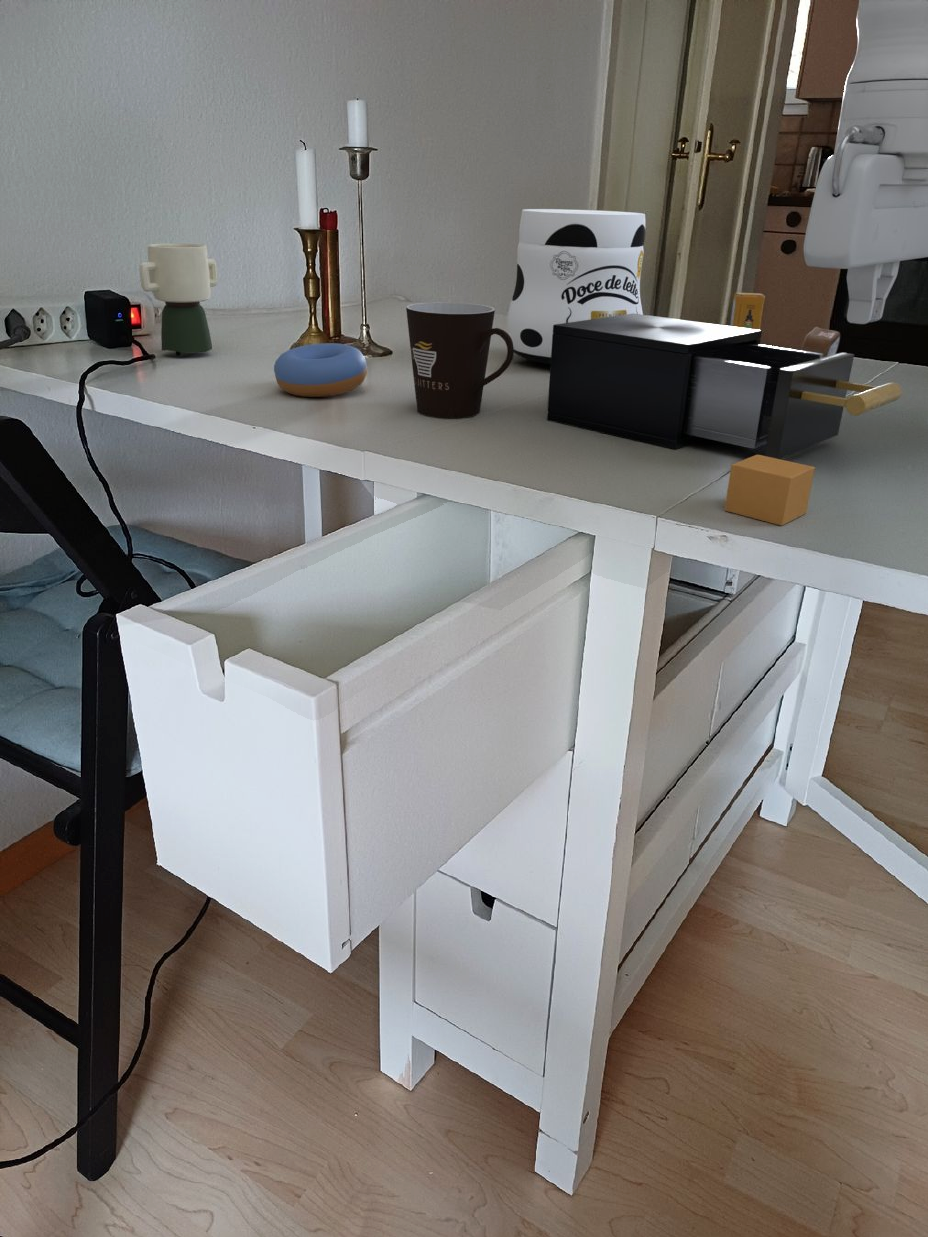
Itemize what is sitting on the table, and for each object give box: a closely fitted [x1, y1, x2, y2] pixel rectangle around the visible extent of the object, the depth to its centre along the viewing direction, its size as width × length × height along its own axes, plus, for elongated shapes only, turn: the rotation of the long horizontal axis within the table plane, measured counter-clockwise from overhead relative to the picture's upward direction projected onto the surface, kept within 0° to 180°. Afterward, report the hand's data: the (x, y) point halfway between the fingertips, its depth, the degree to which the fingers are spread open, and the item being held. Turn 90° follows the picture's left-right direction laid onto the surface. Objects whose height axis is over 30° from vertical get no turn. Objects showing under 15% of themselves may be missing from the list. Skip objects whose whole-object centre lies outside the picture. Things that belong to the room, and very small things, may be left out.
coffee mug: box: [405, 301, 515, 419], centre depth 91 cm, size 12×9×10 cm
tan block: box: [724, 454, 816, 527], centre depth 67 cm, size 4×4×4 cm
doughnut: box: [273, 342, 368, 398], centre depth 100 cm, size 10×10×5 cm
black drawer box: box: [546, 313, 763, 450], centre depth 90 cm, size 15×14×9 cm
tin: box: [799, 326, 841, 357], centre depth 95 cm, size 15×3×8 cm, turn 154°
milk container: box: [506, 208, 646, 366], centre depth 117 cm, size 17×17×18 cm
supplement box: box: [729, 292, 766, 330], centre depth 111 cm, size 3×3×10 cm
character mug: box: [138, 242, 219, 357], centre depth 116 cm, size 11×7×13 cm, turn 140°
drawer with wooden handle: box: [682, 342, 903, 460], centre depth 82 cm, size 19×12×7 cm, turn 47°
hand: (863, 321), depth 75 cm, fingers closed
